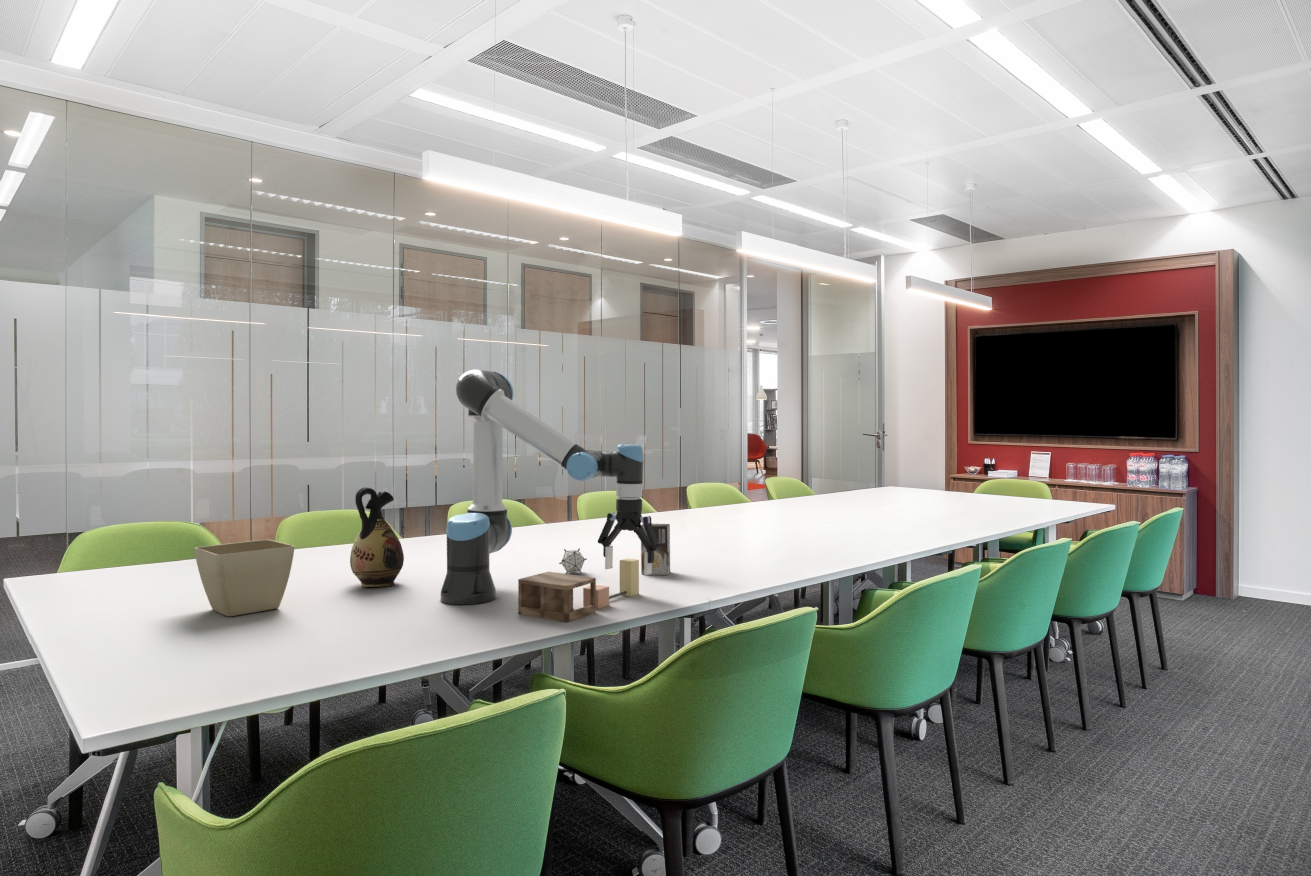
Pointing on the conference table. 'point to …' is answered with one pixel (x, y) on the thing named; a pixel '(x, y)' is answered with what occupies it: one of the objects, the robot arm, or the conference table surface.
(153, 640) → the conference table surface
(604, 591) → the block
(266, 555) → the flower pot
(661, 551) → the coffee box
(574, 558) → the game die
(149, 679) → the conference table surface
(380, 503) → the ceramic jug
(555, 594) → the shelf
